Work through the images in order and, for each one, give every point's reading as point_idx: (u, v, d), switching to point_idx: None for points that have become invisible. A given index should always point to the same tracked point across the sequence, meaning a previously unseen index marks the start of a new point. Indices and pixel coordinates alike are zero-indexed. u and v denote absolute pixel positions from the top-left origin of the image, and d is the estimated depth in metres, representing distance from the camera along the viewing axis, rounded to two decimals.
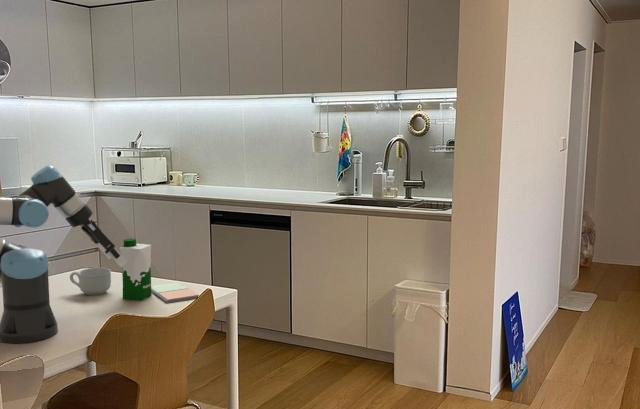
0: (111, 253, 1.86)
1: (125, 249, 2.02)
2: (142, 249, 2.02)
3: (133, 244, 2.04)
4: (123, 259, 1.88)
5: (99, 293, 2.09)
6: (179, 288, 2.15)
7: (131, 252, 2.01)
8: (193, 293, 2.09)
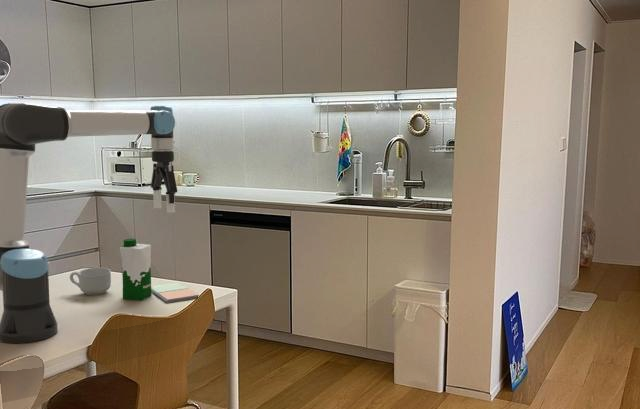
0: (169, 197, 2.07)
1: (125, 249, 2.02)
2: (142, 249, 2.02)
3: (133, 244, 2.04)
4: (173, 208, 2.09)
5: (99, 293, 2.09)
6: (179, 288, 2.15)
7: (131, 252, 2.01)
8: (193, 293, 2.09)
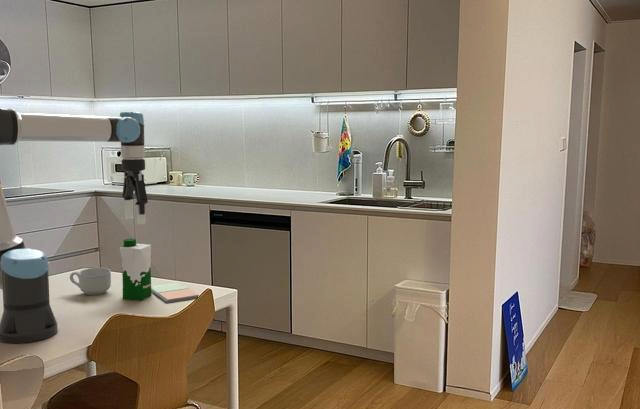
0: (139, 207, 1.97)
1: (125, 249, 2.02)
2: (142, 249, 2.02)
3: (133, 244, 2.04)
4: (144, 219, 1.98)
5: (99, 293, 2.09)
6: (179, 288, 2.15)
7: (131, 252, 2.01)
8: (193, 293, 2.09)
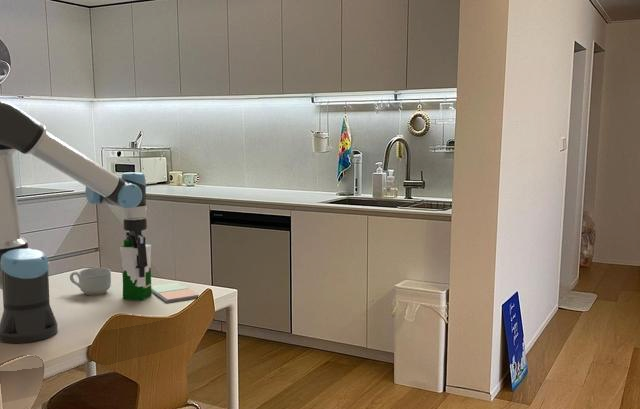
0: (139, 270, 2.01)
1: (125, 249, 2.02)
2: None
3: None
4: (144, 281, 2.03)
5: (99, 293, 2.09)
6: (179, 288, 2.15)
7: (131, 252, 2.01)
8: (193, 293, 2.09)
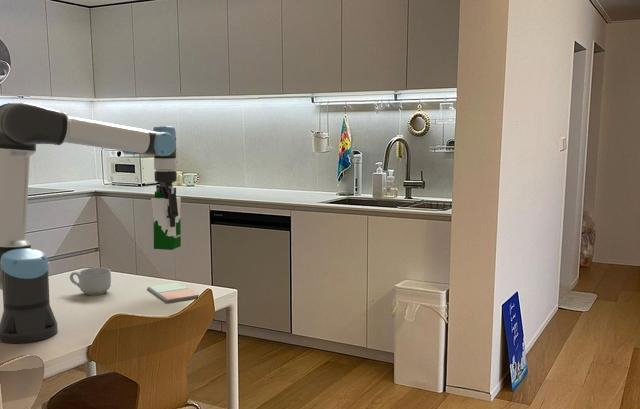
0: (169, 220, 2.08)
1: (156, 200, 2.09)
2: None
3: None
4: (174, 231, 2.10)
5: (99, 293, 2.09)
6: (179, 288, 2.15)
7: (162, 202, 2.08)
8: (193, 293, 2.09)
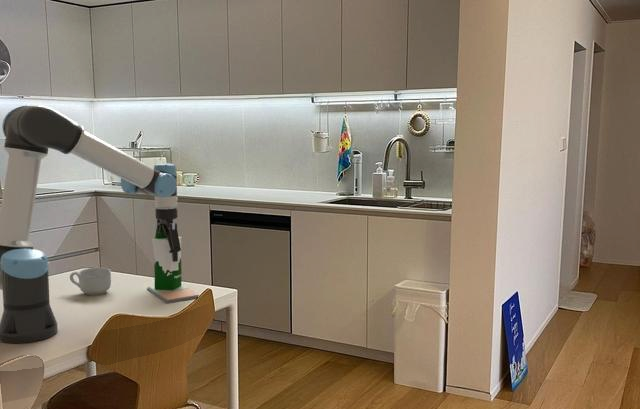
0: (172, 255, 2.08)
1: (157, 240, 2.11)
2: None
3: (165, 236, 2.13)
4: (177, 266, 2.10)
5: (99, 293, 2.09)
6: (179, 288, 2.15)
7: (163, 243, 2.10)
8: (193, 293, 2.09)
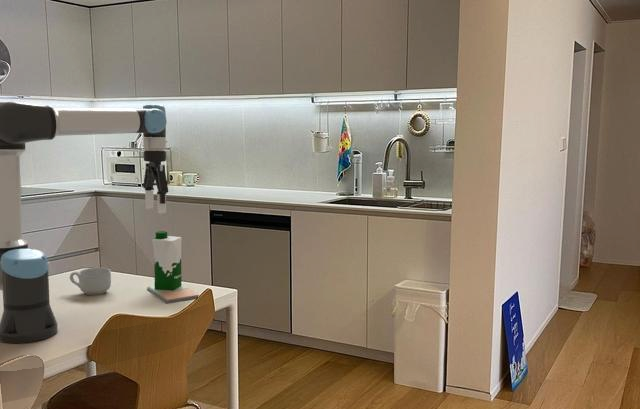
0: (160, 197, 2.04)
1: (157, 241, 2.10)
2: (174, 241, 2.10)
3: (165, 236, 2.13)
4: (164, 208, 2.05)
5: (99, 293, 2.09)
6: (179, 288, 2.15)
7: (163, 244, 2.10)
8: (193, 293, 2.09)
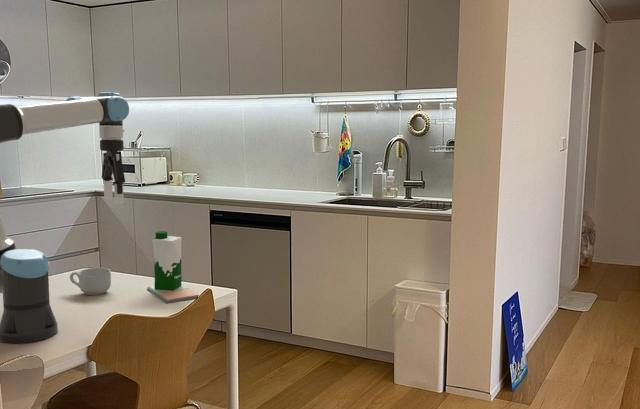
0: (116, 187, 1.99)
1: (157, 241, 2.10)
2: (174, 241, 2.10)
3: (165, 236, 2.13)
4: (122, 199, 2.00)
5: (99, 293, 2.09)
6: (179, 288, 2.15)
7: (163, 244, 2.10)
8: (193, 293, 2.09)
